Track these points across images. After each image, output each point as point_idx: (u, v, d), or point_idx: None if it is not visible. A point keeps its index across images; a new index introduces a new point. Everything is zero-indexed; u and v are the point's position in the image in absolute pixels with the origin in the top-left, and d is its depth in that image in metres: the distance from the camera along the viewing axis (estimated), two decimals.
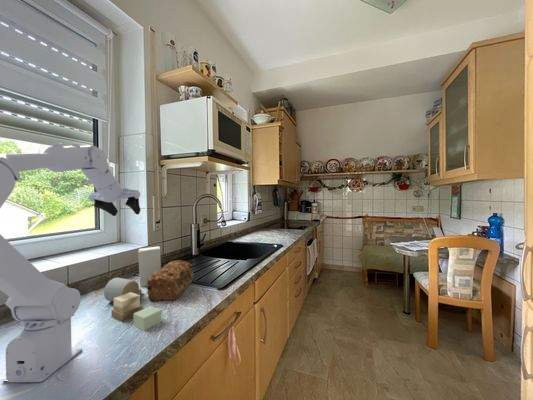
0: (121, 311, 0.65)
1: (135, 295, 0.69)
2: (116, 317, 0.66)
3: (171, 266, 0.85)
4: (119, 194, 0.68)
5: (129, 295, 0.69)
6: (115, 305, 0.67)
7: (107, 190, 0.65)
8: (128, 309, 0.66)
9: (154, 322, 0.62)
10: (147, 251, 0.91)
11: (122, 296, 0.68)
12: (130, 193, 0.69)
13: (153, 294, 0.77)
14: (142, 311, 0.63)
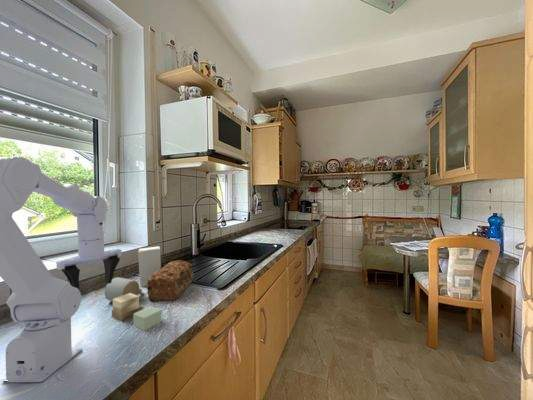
0: (120, 312, 0.64)
1: (134, 296, 0.68)
2: (116, 317, 0.66)
3: (171, 266, 0.85)
4: (104, 251, 0.64)
5: (128, 295, 0.69)
6: (114, 306, 0.66)
7: (100, 242, 0.62)
8: (127, 310, 0.65)
9: (154, 322, 0.62)
10: (147, 251, 0.91)
11: (121, 297, 0.68)
12: (112, 251, 0.67)
13: (153, 294, 0.77)
14: (142, 311, 0.63)
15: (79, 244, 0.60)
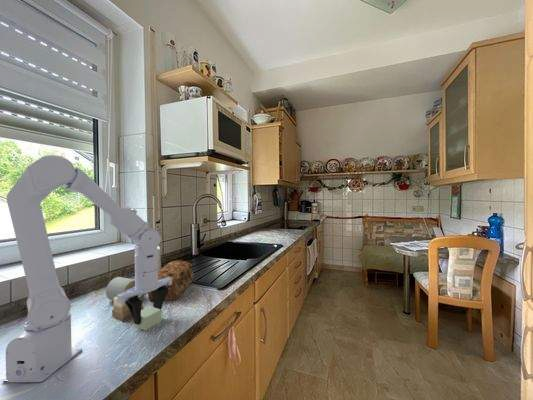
0: (120, 311, 0.65)
1: None
2: (117, 317, 0.66)
3: (171, 266, 0.85)
4: None
5: None
6: (115, 305, 0.67)
7: (156, 272, 0.63)
8: (127, 309, 0.66)
9: (154, 322, 0.62)
10: None
11: None
12: (164, 280, 0.67)
13: None
14: (142, 311, 0.63)
15: (137, 276, 0.60)
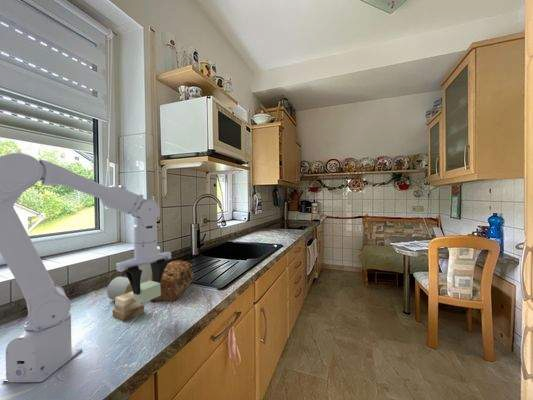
0: (122, 310, 0.65)
1: None
2: (117, 316, 0.66)
3: (171, 266, 0.85)
4: None
5: (130, 294, 0.70)
6: (116, 304, 0.67)
7: (155, 244, 0.63)
8: (129, 308, 0.66)
9: (153, 295, 0.62)
10: None
11: (123, 295, 0.69)
12: (163, 254, 0.67)
13: None
14: (141, 284, 0.63)
15: (136, 246, 0.60)
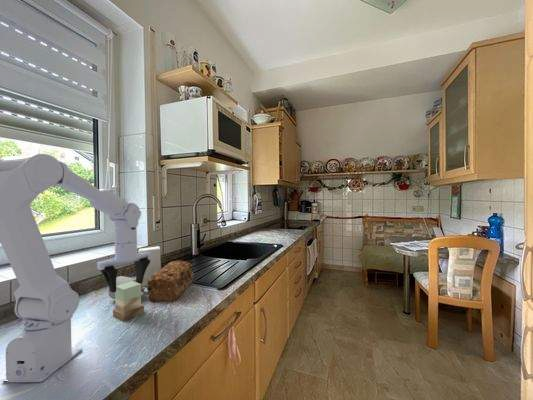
0: (122, 310, 0.65)
1: None
2: (117, 317, 0.66)
3: (171, 266, 0.85)
4: (137, 253, 0.70)
5: None
6: (117, 304, 0.67)
7: (134, 244, 0.68)
8: (129, 309, 0.66)
9: (134, 294, 0.67)
10: (147, 251, 0.91)
11: None
12: (143, 253, 0.72)
13: (153, 295, 0.76)
14: (123, 284, 0.68)
15: (116, 247, 0.66)
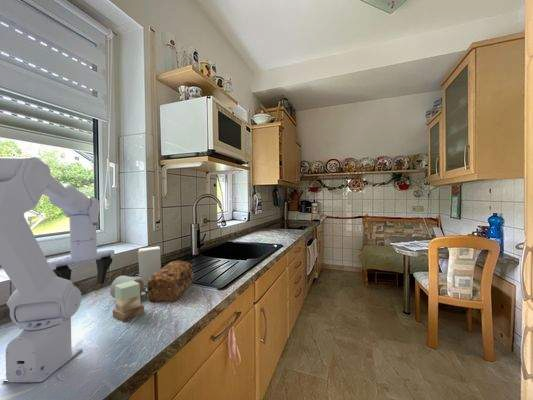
0: (121, 310, 0.65)
1: None
2: (117, 317, 0.65)
3: (171, 266, 0.85)
4: (96, 251, 0.64)
5: None
6: (116, 303, 0.67)
7: (93, 242, 0.62)
8: (128, 308, 0.66)
9: (132, 294, 0.67)
10: (147, 251, 0.91)
11: None
12: (105, 252, 0.67)
13: (153, 295, 0.76)
14: (123, 284, 0.69)
15: (71, 244, 0.60)
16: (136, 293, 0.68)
